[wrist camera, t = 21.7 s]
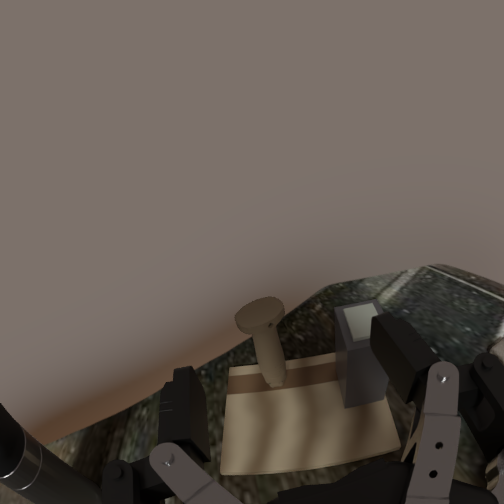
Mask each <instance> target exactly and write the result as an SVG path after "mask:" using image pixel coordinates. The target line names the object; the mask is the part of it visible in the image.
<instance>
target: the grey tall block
mask: <svg viewBox="0 0 504 504" xmlns="http://www.w3.org/2000/svg"><path fill="white" fill-rule="evenodd" d="M381 313H383V311H382V309H381V307H380V305H379V303H378V301H377V299H374V300H370V301H365V302H360V303H355V304H350V305H345V306H339V307H334V317H335V358H336V373H337V377H338V381H339V386H340V390H341V395H342V399H343V404H344V409H346V408H351V407H356V406H360V405H365V404H369V403H373V402H377V401H381V400H384V397H385V393H386V389H387V385H388V381H389V377H388V376H387V374H386V373H385V371H384V369H383V368H382V366H381V365H380V363H379V361H378V360H377V358H376V357H375V355H374V354H373V352H372V350H371V347H370V330H371V319H372V317H373V316H376V315H379V314H381Z"/></svg>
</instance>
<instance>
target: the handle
mask: <svg viewBox="0 0 504 504" xmlns="http://www.w3.org/2000/svg"><path fill="white" fill-rule="evenodd" d="M284 314H285V311H284V305H283V303H282V302H281V301H280V300H279V299H277V298H275V297H265V298H261V299H257V300H255V301H252V302H251V303H249V304H247V305H245V306H244V307H242V308H241V309H240V310H239V311H238V312H237V313H236V315H235V321H236V324H237V326H238V328H239V329H240V330H241V331H242V332H243V333H246V334H252V337H253V341H254V346H255V351H256V356H257V361H258V364H259V368H260V370H261V372H262V375H263V376H264V378H265V381H266V383H268V384H269V385H270V387H272V388H274V387H278V386H279V387H281V386H283V385H284V381H285V380H286V378H287V376H286V362H285V357H284V353H283V350H282V346H281V343H280V340H279V336H278V333H277V329H276V325H277V324H278V323H279V322H280V321H281V319H282V318H283V316H284Z"/></svg>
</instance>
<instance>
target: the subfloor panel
mask: <svg viewBox="0 0 504 504" xmlns="http://www.w3.org/2000/svg"><path fill="white" fill-rule="evenodd" d="M285 362H286V376H287V378H286V380H285V381H284V385H283V386H281V387H279V386H278V387H274V388H272V387H270V385H269V384H268V383H266V381H265V378H264V376H263V375H262V372H261V370H260V368H259V364H258V365H249V366H239V367H230V369H229V380H228V390H227V400H226V411H225V422H224V433H223V444H222V455H221V466H220V473H221V474H222V475H253V474H270V473H283V472H293V471H301V470H309V469H316V468H322V467H328V466H334V465H339V464H344V463H349V462H354V461H358V460H362V459H367V458H371V457H375V456H378V455H382V454H386V453H389V452H393V451H396V450H399V449H400V447H401V444H400V441H399V437H398V434H397V430H396V427H395V424H394V421H393V417H392V414H391V411H390V408H389V405H388V402H387V399H386V396H385V397H384V400H381V401H377V402H373V403H369V404H365V405H360V406H356V407H351V408H346V409H344V404H343V399H342V395H341V390H340V386H339V381H338V377H337V373H336V358H335V353H330V354H325V355H319V356H313V357H307V358H301V359H295V360H288V361H285Z"/></svg>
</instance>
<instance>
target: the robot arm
mask: <svg viewBox="0 0 504 504" xmlns="http://www.w3.org/2000/svg"><path fill="white" fill-rule="evenodd" d="M370 347H371V350H372V352H373V354H374V355H375V357H376V358H377V360H378V361H379V363H380V365H381V366H382V368H383V369H384V371H385V373H386V374H387V376H388V377H389V379H390V380H391V382H392V384H393V385H394V387H395V388H396V390H397V392H398V393H399V395H400V397H401V398H402V400H403V402H404V403H405V404H407V403H409V402H411V401H413V402H414V403H415V409H414V414H413V419H412V424H411V429H410V433H409V438H408V442H407V445H406V448H405V450H404V453H403V456H402V459H401V461H392V462H385V461H384V459H383V458H381V459H379V460H376V461H374V462H372V463H369V464H367V465H364V466H362V467H359V468H357V469H356V470H354V471H353V472H351V473H350V474H348V475H347V476H345V477H343V478H342V479H340V480H338V481H337V482H335V483H330V484H319V485H304V486H301V487H297V488H293V489H289V490H284V491H280V492H277V493H278V497H277V498H275V499H273V500H271V501H269V502H268V503H266V504H504V366H503V364H502V363H501V362H500V361H499V359H498V358H497V357H496V356H495V355H493V354H491V353H481V354H479V355H477V357H476V358H475V360H474V362H473V363H471V364H466V365H462V366H454V365H453V364H451V363H449V362H445V361H441V360H440V359H439V358H438V357H437V356H436V354H435V353H434V352H433V351H432V350H431V348H430V347H429V346H428V345H427V343H426V342H425V341H424V340H423V339H422V338H421V336H420V335H419V334H418V333H417V332H416V330H415V329H414V328H413V327H412V326H411V324H410V323H408V322H406V321H404V320H402V319H401V318H400V319H398V320H395V318H394V317H393V316H392V315H391V314H390V313H389V312H384V313H381V314H379V315H376V316H373V317H372V319H371V330H370ZM457 410H459V411H460V413H461V415H462V416H463V418H464V420H465V421H466V423H467V425H468V427H469V428H470V430H471V432H472V434H473V435H474V437H475V439H476V441H477V443H478V444H479V446H480V448H481V450H482V452H483V454H484V456H485V458H486V459H487V461H488V463H489V464H488V465H487V468H486V477H485V479H486V481H487V489H484V488H481V487H477V486H474V485H471V484H467V483H464V482H461V481H458V480H455V479H452V478H453V473H454V468H455V463H456V457H457V450H458V443H459V435H460V426H461V417H460V416H458V415H457ZM159 411H160V413H159V428H158V444H157V446H156V447H155V448H154V449H153V450H152V452H151V454H150V455H149V456H148V457H146V458H143V459H141V460H138V461H135V462H132V463H127V462H126V461H124V460H119V459H117V460H113V461H111V462H109V463H108V464H107V465H106V466H105V468H104V470H103V475H102V491H101V489H100V488H99V487H98V485H96V484H95V483H94V482H93V481H91V480H89V479H88V478H86V477H85V476H83V475H82V474H80V473H79V472H78V471H76V470H75V469H73V468H72V467H71V466H69V465H68V464H66V463H65V462H64V461H62V460H61V459H60V458H58V457H57V456H56V455H55V454H53V453H52V452H51V451H50V450H48V449H47V448H46V447H45V446H43V445H42V444H41V443H40V442H39V441H37V440H36V439H35V438H34V437H32V435H30V434H29V433H28V432H27V431H26V430H25V429H24V428H23V427H21V425H20V424H19V423H17V422H16V421H15V420H14V419H13V418H12V416H11V415H10V414H9V413H8V412H7V411H6V410H5V408H4V407H3V405H2V404H1V403H0V482H1V483H2V484H4V485H5V486H7V487H9V488H10V489H12V490H13V491H15V492H16V493H18V494H20V495H21V496H23V497H24V498H26V499H28V500H30V501H31V502H33V503H35V504H165V499H167V498H169V497H172V496H175V495H177V496H178V497H179V498H180V499H181V500H182V502H183V504H243V503H241V502H240V501H239V500H238V499H236V498H235V497H234V496H233V495H231V494H230V493H229V492H228V491H227V490H225V489H224V488H223V487H222V486H221V485H220V484H218V483H217V482H216V481H215V480H214V479H212V478H211V477H210V476H209V475H208V474H207V473H206V472H205V471H204V462H211V456H210V445H209V433H208V421H207V407H206V396H205V392H204V389H203V386H202V384H201V382H200V380H199V379H198V377H197V375H196V373H195V371H194V369H193V367H192V366H187V367H182V368H177V369H174V374H173V381H171V382H166V383H165V385H164V387H163V389H162V391H161V395H160V410H159Z"/></svg>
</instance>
